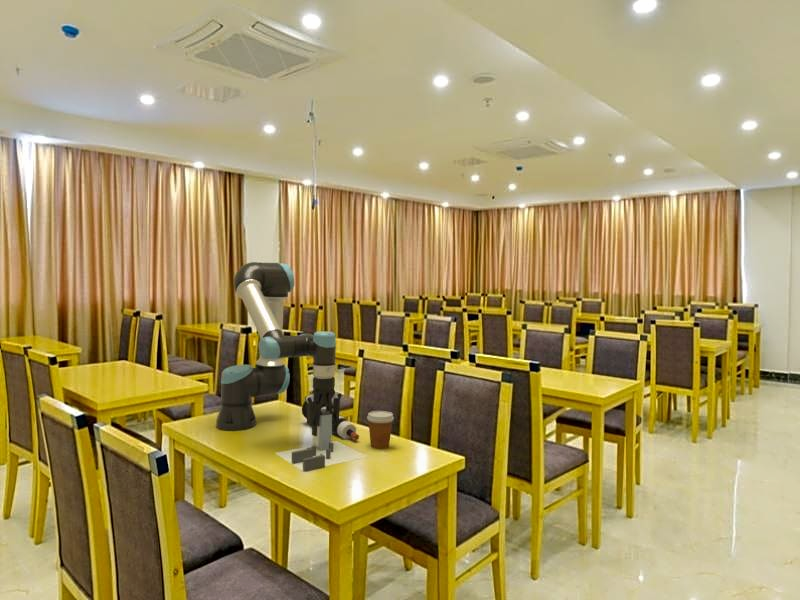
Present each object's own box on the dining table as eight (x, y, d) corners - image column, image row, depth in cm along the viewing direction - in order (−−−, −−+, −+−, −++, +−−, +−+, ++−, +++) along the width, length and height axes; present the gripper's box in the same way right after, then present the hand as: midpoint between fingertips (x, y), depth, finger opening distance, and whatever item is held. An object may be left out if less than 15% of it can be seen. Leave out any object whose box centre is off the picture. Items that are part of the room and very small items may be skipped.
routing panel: (274, 454, 182) (274, 442, 182) (336, 442, 196) (336, 431, 196) (303, 473, 166) (303, 460, 165) (368, 458, 180) (368, 446, 180)
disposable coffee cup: (379, 453, 186) (380, 419, 185) (360, 447, 192) (361, 413, 191) (398, 447, 193) (399, 414, 192) (379, 441, 199) (380, 409, 198)
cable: (350, 456, 195) (340, 434, 191) (307, 424, 222) (298, 404, 218) (372, 440, 200) (363, 418, 196) (327, 410, 227) (318, 390, 223)
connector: (313, 447, 189) (314, 409, 189) (324, 445, 192) (324, 408, 191) (321, 450, 185) (321, 412, 185) (331, 448, 188) (332, 411, 187)
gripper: (306, 380, 179) (305, 450, 180) (350, 376, 189) (349, 442, 191) (296, 377, 185) (295, 444, 186) (339, 372, 195) (338, 436, 196)
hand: (322, 443), depth 188 cm, fingers closed on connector, 4 cm apart
